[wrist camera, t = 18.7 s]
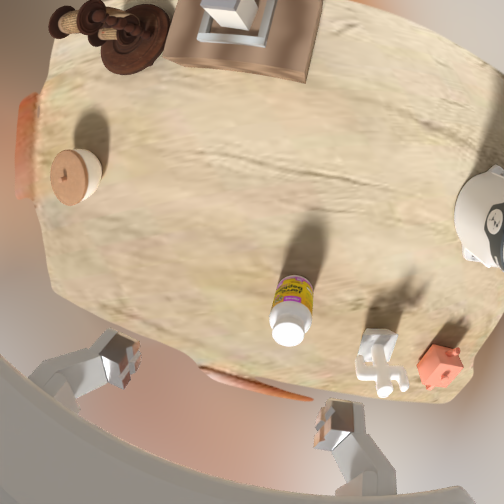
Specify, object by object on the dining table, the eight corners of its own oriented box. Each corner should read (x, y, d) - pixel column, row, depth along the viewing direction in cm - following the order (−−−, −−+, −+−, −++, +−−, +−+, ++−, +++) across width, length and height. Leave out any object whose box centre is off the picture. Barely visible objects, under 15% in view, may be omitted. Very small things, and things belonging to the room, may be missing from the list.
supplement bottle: (308, 269, 49) (305, 312, 37) (316, 300, 51) (316, 347, 39) (271, 277, 51) (259, 321, 39) (282, 307, 53) (273, 354, 41)
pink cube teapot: (461, 336, 48) (474, 360, 40) (433, 372, 53) (441, 397, 45) (439, 329, 48) (451, 355, 41) (410, 368, 53) (417, 394, 46)
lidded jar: (95, 134, 46) (62, 139, 38) (119, 177, 49) (87, 188, 40) (69, 165, 50) (38, 174, 41) (89, 204, 53) (60, 218, 44)
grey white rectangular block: (258, 8, 26) (245, -18, 19) (249, 31, 28) (233, 8, 21) (230, 4, 26) (211, -21, 19) (221, 26, 28) (199, 4, 21)
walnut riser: (321, 11, 30) (323, -16, 22) (305, 83, 36) (304, 70, 28) (203, -1, 32) (181, -23, 24) (184, 66, 38) (156, 54, 30)
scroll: (185, 8, 33) (121, -38, 15) (159, 79, 40) (80, 62, 22) (122, 9, 34) (53, -17, 16) (100, 74, 41) (22, 67, 23)
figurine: (355, 322, 51) (363, 379, 38) (399, 323, 49) (417, 377, 36) (349, 349, 54) (353, 405, 40) (390, 349, 52) (403, 403, 39)
